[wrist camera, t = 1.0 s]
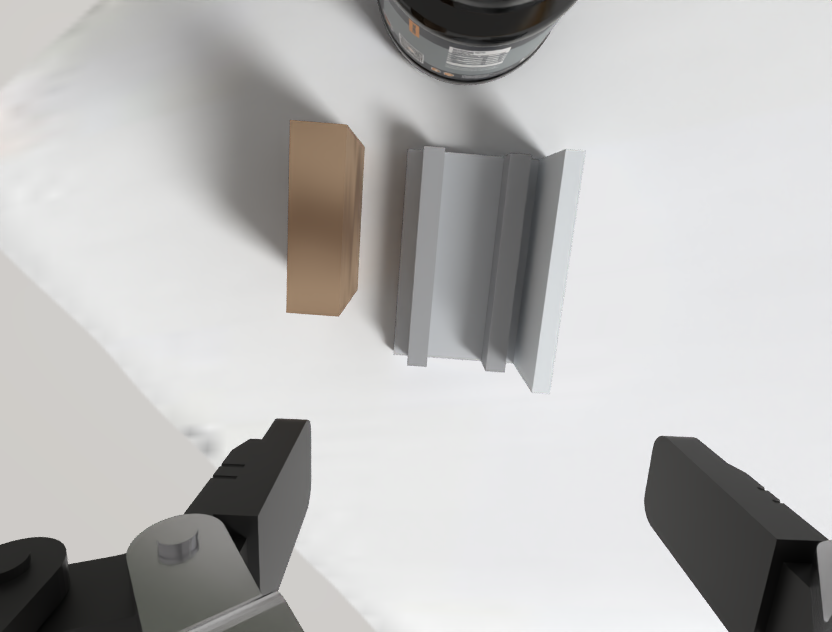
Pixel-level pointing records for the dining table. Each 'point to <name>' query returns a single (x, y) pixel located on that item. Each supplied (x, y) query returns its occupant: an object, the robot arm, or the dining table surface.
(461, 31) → the supplement container
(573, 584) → the dining table surface
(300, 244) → the brown rectangular block
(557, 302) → the grey channel holder
